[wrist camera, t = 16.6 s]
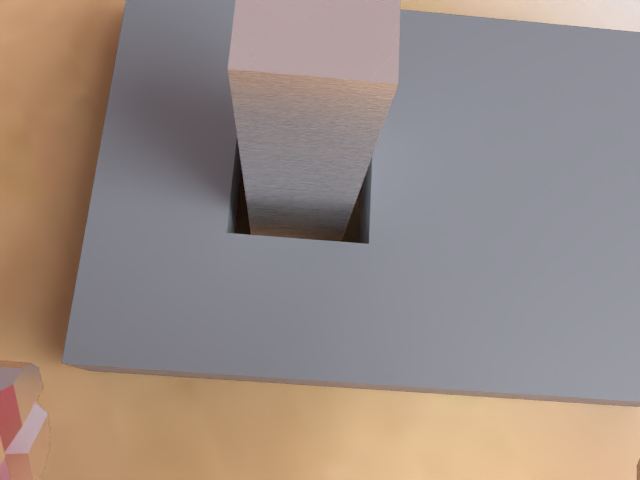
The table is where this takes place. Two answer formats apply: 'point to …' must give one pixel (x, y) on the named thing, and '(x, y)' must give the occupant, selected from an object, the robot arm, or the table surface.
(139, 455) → the table surface
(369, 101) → the square bit
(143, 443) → the table surface
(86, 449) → the table surface
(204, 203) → the socket board
